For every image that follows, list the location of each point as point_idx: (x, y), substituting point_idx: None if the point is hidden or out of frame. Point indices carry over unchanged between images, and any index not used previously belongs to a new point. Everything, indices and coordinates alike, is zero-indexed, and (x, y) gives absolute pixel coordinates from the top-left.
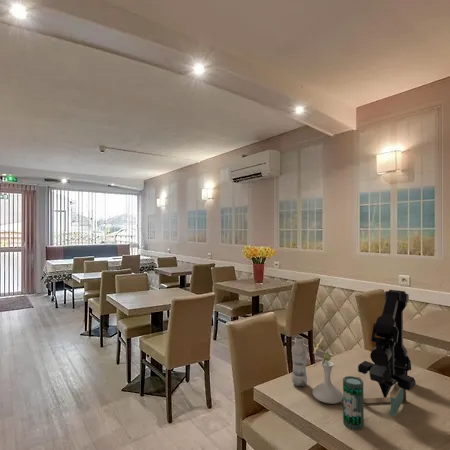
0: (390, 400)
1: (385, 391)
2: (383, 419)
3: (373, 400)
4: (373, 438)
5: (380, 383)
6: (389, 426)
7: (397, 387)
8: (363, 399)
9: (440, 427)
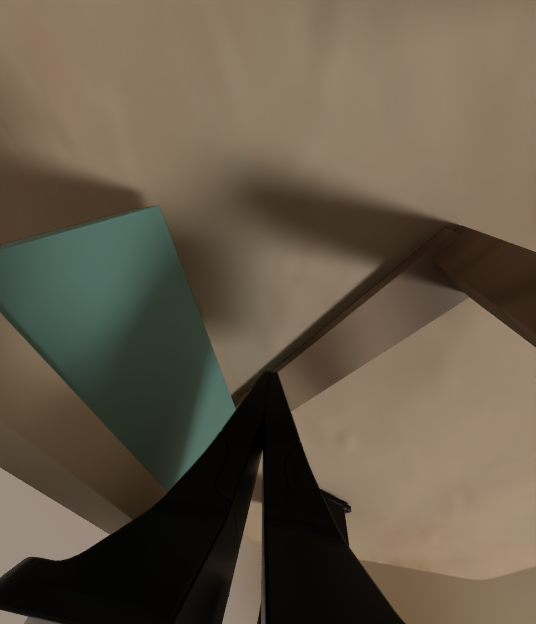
0: None
1: (247, 417)
2: (209, 147)
3: (356, 339)
4: None
5: (297, 523)
6: (113, 57)
7: (94, 514)
8: (428, 308)
9: None
